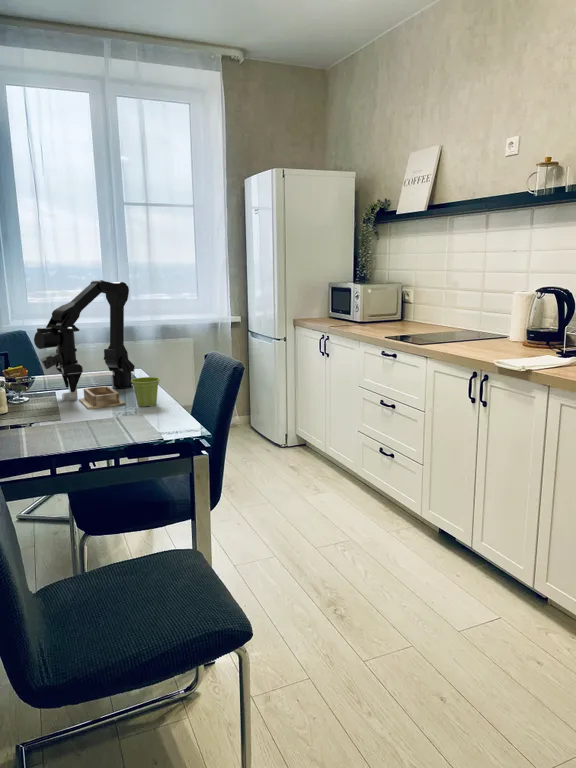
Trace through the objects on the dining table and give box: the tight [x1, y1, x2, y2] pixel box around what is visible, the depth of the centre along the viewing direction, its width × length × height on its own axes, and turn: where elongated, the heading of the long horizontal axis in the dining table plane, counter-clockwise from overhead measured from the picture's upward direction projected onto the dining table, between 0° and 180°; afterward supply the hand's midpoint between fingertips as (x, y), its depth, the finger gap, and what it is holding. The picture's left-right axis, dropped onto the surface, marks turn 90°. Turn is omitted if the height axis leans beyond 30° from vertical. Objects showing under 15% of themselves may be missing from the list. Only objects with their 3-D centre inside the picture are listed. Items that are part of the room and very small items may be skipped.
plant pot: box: [131, 376, 161, 408], centre depth 195 cm, size 9×9×9 cm
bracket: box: [61, 383, 79, 402], centre depth 205 cm, size 4×4×7 cm
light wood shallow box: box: [78, 385, 126, 410], centre depth 199 cm, size 12×15×4 cm
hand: (70, 389), depth 205 cm, fingers open, 9 cm apart
